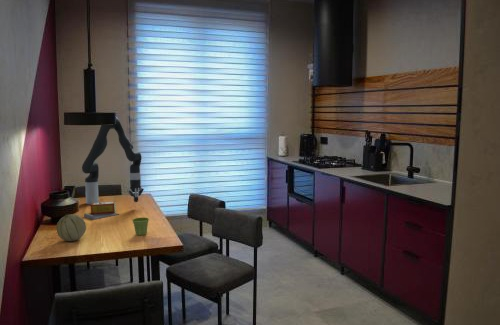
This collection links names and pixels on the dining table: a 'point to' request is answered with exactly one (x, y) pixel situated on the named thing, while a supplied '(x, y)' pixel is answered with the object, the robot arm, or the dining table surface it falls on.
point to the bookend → (99, 215)
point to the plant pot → (140, 225)
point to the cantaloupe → (71, 227)
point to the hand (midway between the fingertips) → (136, 201)
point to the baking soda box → (103, 207)
